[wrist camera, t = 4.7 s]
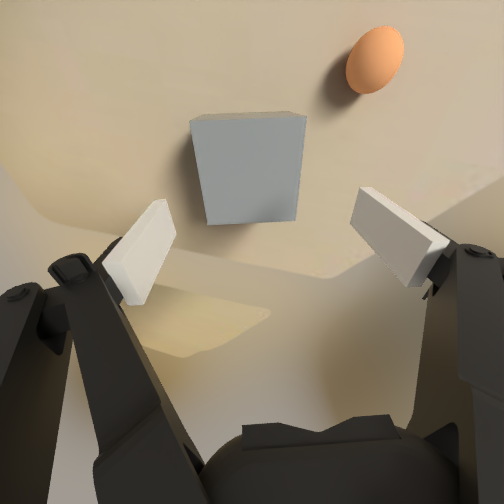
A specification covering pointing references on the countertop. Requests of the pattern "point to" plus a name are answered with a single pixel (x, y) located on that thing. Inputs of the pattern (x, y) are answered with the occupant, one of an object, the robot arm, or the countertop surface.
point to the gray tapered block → (249, 165)
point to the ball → (374, 59)
